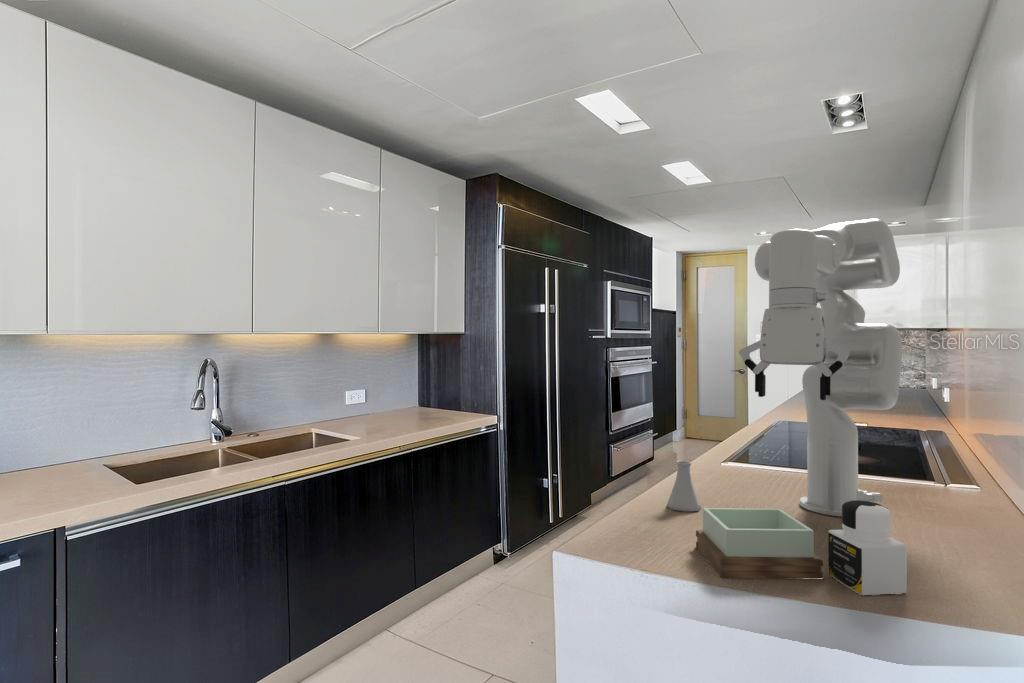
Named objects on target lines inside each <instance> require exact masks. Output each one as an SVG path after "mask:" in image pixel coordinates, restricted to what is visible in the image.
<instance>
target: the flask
mask: <svg viewBox="0 0 1024 683" xmlns="http://www.w3.org/2000/svg"><path fill="white" fill-rule="evenodd" d="M675 465H676V466H677V468H676V469H677V470H676V471H677V473H676V478H675V481H674V484H673V488H672V490H671V493H670V495H669V499H668V501H667V503H666V507H667V508H669V509H671V510H675V511H680V512H699V511H700V510H701V509H702V505H701V503H700V500H699V497H698V495H697V493H696V490H695V489H696V488H695V486H694V484H693V481H692V475H691V465H692V462H691V461H688V460H677V461H676V463H675Z"/></svg>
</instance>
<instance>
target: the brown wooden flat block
mask: <svg viewBox="0 0 1024 683" xmlns="http://www.w3.org/2000/svg"><path fill="white" fill-rule="evenodd" d="M695 537H696V541H695V548H696V549H697V550H698V551H699V552H700V553H701V554H702V555H704V558H705V559H706V560H707V561H708V563H709V562H710V563H709V564H710V566H711V567H713V569H714V568H715V569H714V570H715V571H716V572H717V574H718V575H719V574H720V575H719V577H720V578H721V579H766V580H768V579H769V580H770V579H773V580H776V579H777V580H778V578H823V579H824V572H823V571H822V567H823V566H824V559H823V558H822V557H820V556H818V555H817V554H816V553H814V558H811V557H727V556H726V555H725V554H724V553H723V552H722V551H721V550H720V549H719V548H718V547H717V546H716V545H715V544H714V543H713V542H712V541H711V540H710V538H709V537H708V536H707V535H706V534H705V533H704V532H703V529H696V530H695Z"/></svg>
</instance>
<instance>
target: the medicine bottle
mask: <svg viewBox="0 0 1024 683" xmlns="http://www.w3.org/2000/svg"><path fill="white" fill-rule="evenodd" d="M891 517H892V516H891V510H889V508H888V507H886V506H884V505H882V504H880V503H878V502H871V501H860V500H854V501H849V502H845V503H844V504H843V505H842V517H841V527H842V529H829V530H828V531H827V532H828V540H827V541H828V547H827V548H828V551H827V552H828V553H827V554H828V576H829V577H830V578H832V577H833V578H832V579H833V580H835V579H836V580H835V581H837V582H838V581H839V582H838V583H840V584H842V585H843V584H844V586H845V587H846V586H847V587H846V588H847V589H849V590H851V591H853V592H854V591H855V592H854V593H855V594H857V593H858V594H857V595H859V596H861V595H863V596H862V597H865V596H864V595H872V596H881V595H880V594H891V593H893V594H894V593H906V594H907V592H908V578H907V577H908V571H907V570H908V568H907V567H908V566H907V564H908V563H907V562H908V561H907V560H908V558H907V557H908V555H907V552H908V551H907V549H908V548H907V547H908V546H907V544H906V543H903V542H902V541H898V540H897V539H894V538H892V537H891V534H892V529H891V528H892V526H891V521H892V520H891V519H892V518H891Z"/></svg>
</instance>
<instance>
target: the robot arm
mask: <svg viewBox="0 0 1024 683" xmlns="http://www.w3.org/2000/svg"><path fill="white" fill-rule="evenodd" d="M754 256H755V257H754V268H755V271H756V273H757V276H758V277H759V278H760V279H762V280H764V281H767V282H768V308H765V309H764V313H763V318H762V323H761V328H760V340H758V341H755V342H754V343H752V344H748V345H747V346H745V347H743V348H741V349H739V351H738V354H739V355H740V357H741V359H742V361H743V362H744V364H745V366H746V367H747V368H748V369H749V370H750V371H751V372H752V373H753V374H754V392H755V393H757V394H758V398H763V397H765V396H766V376H767V375H766V374H764V373H765V370H766V369H767V368H768V367H770V365H787V366H788V365H789V366H790V365H791V366H794V365H795V366H808V367H807V368H806V369H805V370H804V371H803V374H802V381H801V383H802V384H801V385H802V389H803V396H804V402H805V407H806V408H805V409H806V422H807V423H806V426H807V430H806V431H807V436H806V437H807V438H806V439H807V440H806V441H807V442H806V443H807V445H806V446H807V447H806V448H807V449H806V450H807V452H806V454H807V455H806V456H807V463H806V464H807V467H806V468H807V470H806V471H807V474H806V475H807V476H806V477H807V480H806V481H807V482H806V483H807V486H806V487H807V495H806V496H802V497H800V498H799V506H801V508H804V509H806V510H808V511H810V512H814V513H817V514H822V515H827V516H834V517H841V518H842V505H843V504H844V503H845V502H849V501H854V500H860V501H869V502H874V503H881V502H883V495H882V494H881V493H880V492H868V491H867V490H862V489H860V488H859V432H858V427H857V424H856V423H855V421H854V420H853V418H852V417H851V416H850V415H849V414H848V413H847V412H846V410H845V409H858V410H861V409H862V410H873V411H874V410H876V411H879V410H881V411H884V410H890V409H892V408H893V407H894V406H895V405H896V404H897V401H898V397H899V393H900V392H899V391H900V380H901V370H902V359H903V341H902V336H901V333H900V331H899V329H898V328H896V327H895V326H894V325H892V324H888V323H876V322H875V323H865V318H866V312H865V309H864V307H862V304H860V303H859V302H858V301H857V300H856V299H855V298H854V297H852V296H851V295H850V294H847V293H846V292H845V291H851V290H852V291H853V290H867V289H869V290H870V289H883V288H885V289H886V288H888V287H892V286H894V285H895V284H896V283H897V281H898V280H899V278H900V272H901V270H900V269H901V265H900V260H899V255H898V252H897V248H896V244H895V240H894V237H893V233H892V231H891V228H890V227H889V226H888V224H887V223H886V222H885V221H884V220H882V219H880V218H869V219H861V220H854V221H852V220H851V221H845V222H837V223H836V222H835V223H832V224H831V223H830V224H828V225H827V224H826V226H822V227H819V228H817V229H812V230H811V229H802V228H793V229H784V230H781V231H777V232H776V233H774V234H772V236H771V237H770V239H769V241H766V242H763V243H762V244H761V245H760V246H759V247H758V249H757V250H756V252H755V255H754ZM818 304H820V305H819V306H820V307H818ZM757 350H759V358H760V361H759V362H758V364H756V362H755V361H754V360H752V358H751V354H752V353H754V352H756V351H757Z"/></svg>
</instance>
